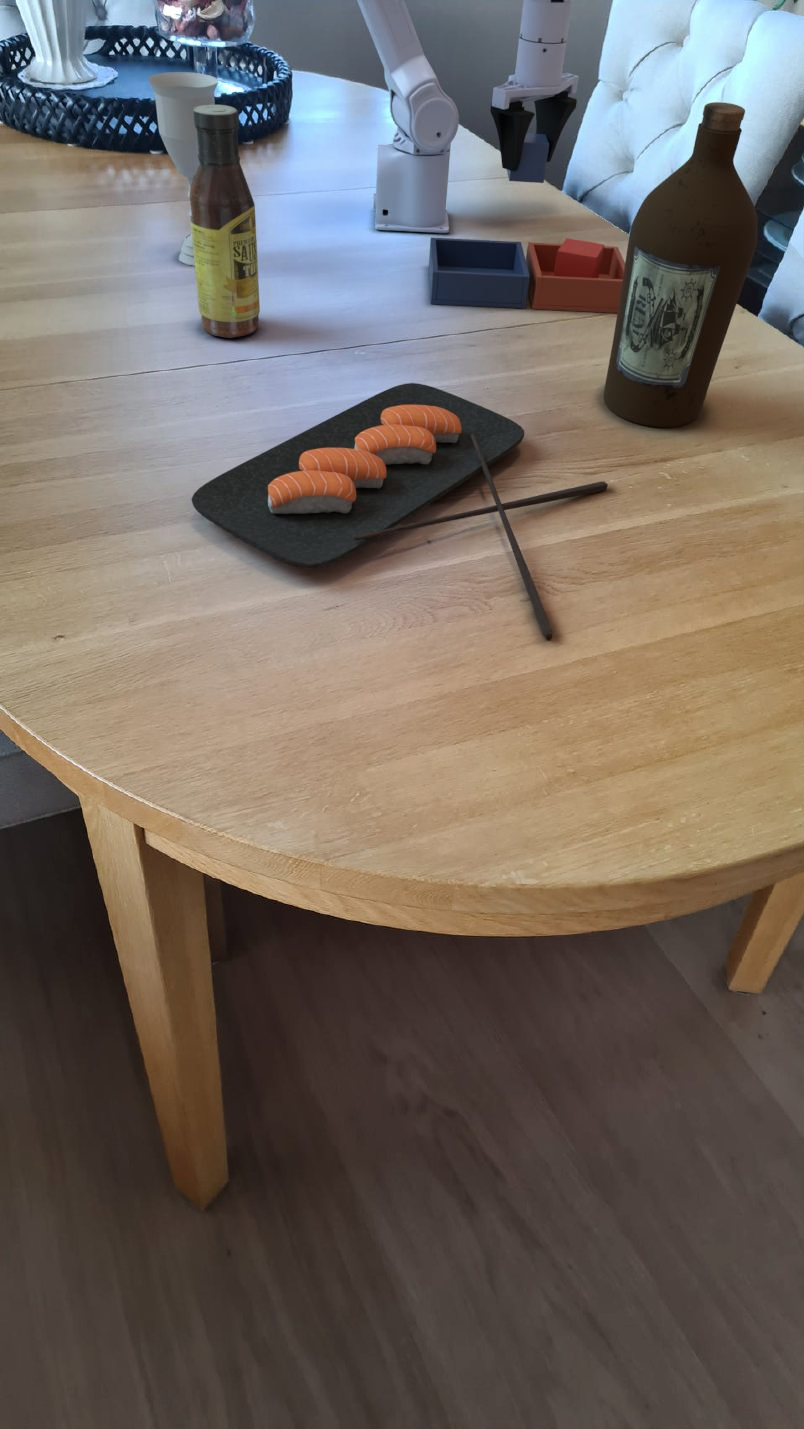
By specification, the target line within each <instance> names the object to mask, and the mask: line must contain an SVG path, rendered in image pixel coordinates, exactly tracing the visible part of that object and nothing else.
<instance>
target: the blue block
mask: <svg viewBox="0 0 804 1429" xmlns="http://www.w3.org/2000/svg"><path fill="white" fill-rule="evenodd" d="M548 149H549V143H548V140H547V137H546V134H536V133H529V132H527V133H526V137H525V140H524V144H523V149H522V155H521V160H520V164H519V167H518V170H517V171H510V170H507V169H506V173H507V178H508V181H509V182H517V183H519V182H520V183H534V184H535V183H537V184H544V183H545V176H546V168H547V163H548V162H547V156H548Z"/></svg>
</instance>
